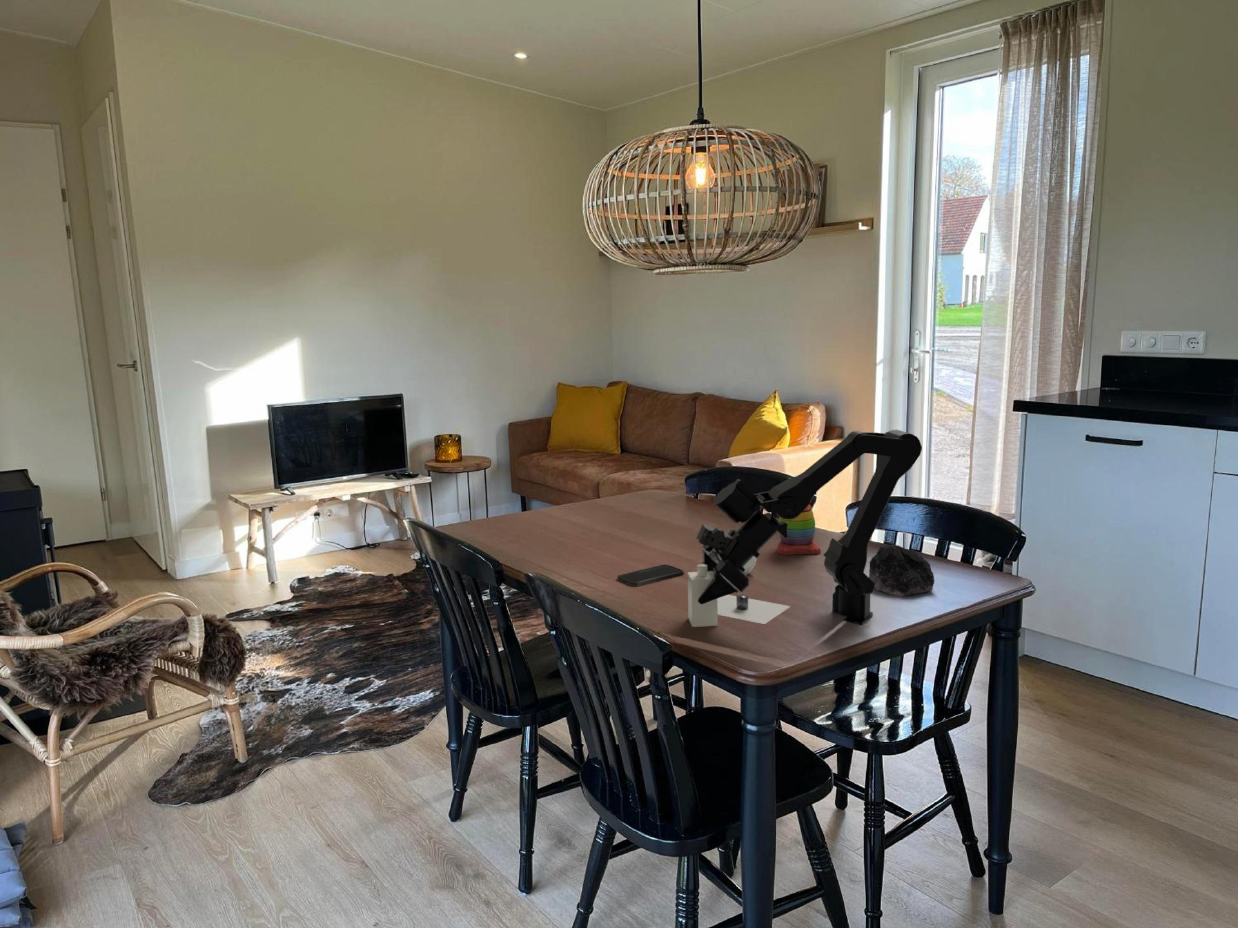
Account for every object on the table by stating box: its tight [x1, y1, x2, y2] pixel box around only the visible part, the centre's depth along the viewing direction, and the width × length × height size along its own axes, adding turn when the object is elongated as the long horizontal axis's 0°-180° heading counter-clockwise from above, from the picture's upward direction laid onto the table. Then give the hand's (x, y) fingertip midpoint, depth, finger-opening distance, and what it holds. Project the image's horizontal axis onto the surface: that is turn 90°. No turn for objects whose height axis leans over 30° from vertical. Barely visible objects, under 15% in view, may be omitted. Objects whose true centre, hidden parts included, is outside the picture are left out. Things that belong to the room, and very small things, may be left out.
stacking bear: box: [776, 504, 822, 556], centre depth 221 cm, size 11×10×18 cm
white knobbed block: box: [687, 563, 719, 628], centre depth 170 cm, size 5×5×12 cm
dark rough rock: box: [868, 544, 935, 597], centre depth 190 cm, size 13×14×10 cm
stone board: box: [717, 594, 791, 625], centre depth 178 cm, size 16×12×1 cm
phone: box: [617, 564, 685, 587], centre depth 204 cm, size 8×1×15 cm
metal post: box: [735, 594, 749, 610], centre depth 178 cm, size 2×2×2 cm
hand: (695, 594), depth 170 cm, fingers open, 9 cm apart
